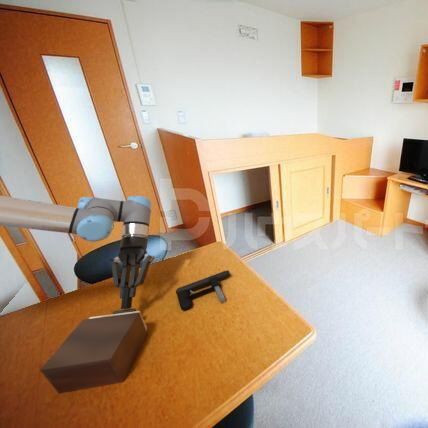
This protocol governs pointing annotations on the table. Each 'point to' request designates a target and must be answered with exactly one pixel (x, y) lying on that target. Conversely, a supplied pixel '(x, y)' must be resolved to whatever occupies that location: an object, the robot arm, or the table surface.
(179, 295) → the black clamp
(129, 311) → the drawer
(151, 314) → the table surface
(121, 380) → the cabinet
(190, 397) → the table surface
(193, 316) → the table surface
